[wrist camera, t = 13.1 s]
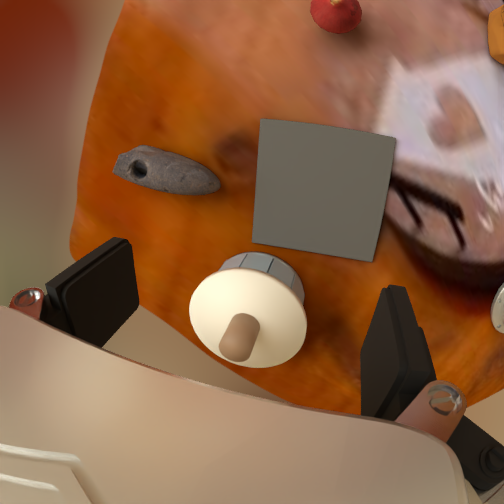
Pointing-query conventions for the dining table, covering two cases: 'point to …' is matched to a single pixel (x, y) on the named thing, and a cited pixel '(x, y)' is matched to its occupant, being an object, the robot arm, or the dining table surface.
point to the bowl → (268, 269)
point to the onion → (336, 14)
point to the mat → (321, 188)
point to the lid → (248, 317)
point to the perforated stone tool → (165, 172)
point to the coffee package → (496, 34)
